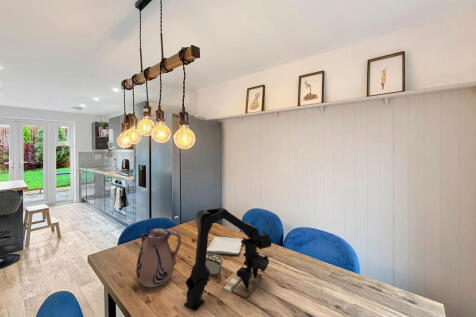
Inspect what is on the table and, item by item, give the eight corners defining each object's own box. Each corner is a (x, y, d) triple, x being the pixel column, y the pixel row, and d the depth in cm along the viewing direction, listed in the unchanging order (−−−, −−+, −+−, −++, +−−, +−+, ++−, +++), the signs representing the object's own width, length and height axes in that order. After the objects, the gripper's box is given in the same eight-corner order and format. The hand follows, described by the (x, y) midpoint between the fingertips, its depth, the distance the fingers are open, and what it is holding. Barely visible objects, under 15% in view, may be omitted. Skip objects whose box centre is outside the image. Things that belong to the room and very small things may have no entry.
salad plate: (239, 257, 133) (239, 252, 133) (205, 255, 136) (205, 249, 136) (243, 243, 154) (243, 238, 154) (214, 241, 157) (214, 236, 157)
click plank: (246, 297, 96) (246, 294, 96) (233, 293, 100) (233, 290, 100) (262, 276, 112) (262, 274, 112) (250, 273, 116) (250, 271, 116)
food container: (227, 275, 114) (227, 256, 114) (220, 281, 109) (220, 262, 108) (208, 268, 120) (208, 251, 120) (201, 274, 115) (201, 255, 115)
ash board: (231, 292, 100) (231, 289, 100) (223, 289, 102) (223, 287, 102) (248, 273, 116) (248, 270, 116) (241, 271, 118) (241, 268, 118)
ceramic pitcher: (137, 275, 113) (137, 228, 112) (179, 268, 121) (179, 223, 120) (134, 297, 97) (133, 242, 96) (183, 286, 105) (182, 235, 103)
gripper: (258, 264, 93) (259, 299, 93) (273, 246, 109) (273, 277, 110) (235, 258, 98) (236, 291, 99) (253, 242, 114) (253, 271, 115)
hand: (251, 282), depth 105 cm, fingers open, 9 cm apart
